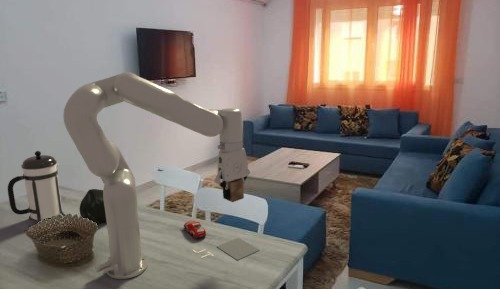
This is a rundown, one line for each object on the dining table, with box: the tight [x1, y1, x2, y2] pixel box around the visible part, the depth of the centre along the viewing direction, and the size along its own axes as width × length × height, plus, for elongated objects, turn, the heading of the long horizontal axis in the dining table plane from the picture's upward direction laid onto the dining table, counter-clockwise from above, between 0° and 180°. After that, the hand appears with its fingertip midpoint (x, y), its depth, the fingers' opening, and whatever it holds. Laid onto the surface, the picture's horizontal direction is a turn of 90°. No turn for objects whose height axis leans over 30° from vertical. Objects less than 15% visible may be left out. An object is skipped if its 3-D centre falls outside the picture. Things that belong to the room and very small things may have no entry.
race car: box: [183, 220, 207, 239], centre depth 143 cm, size 13×5×4 cm, turn 30°
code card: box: [192, 248, 215, 259], centre depth 129 cm, size 9×12×1 cm
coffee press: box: [7, 150, 66, 224], centre depth 153 cm, size 17×16×30 cm
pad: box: [216, 237, 260, 261], centre depth 131 cm, size 10×12×1 cm
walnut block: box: [222, 178, 245, 203], centre depth 126 cm, size 5×5×7 cm
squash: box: [79, 188, 107, 225], centre depth 155 cm, size 14×15×15 cm
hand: (233, 196), depth 126 cm, fingers closed on walnut block, 5 cm apart
